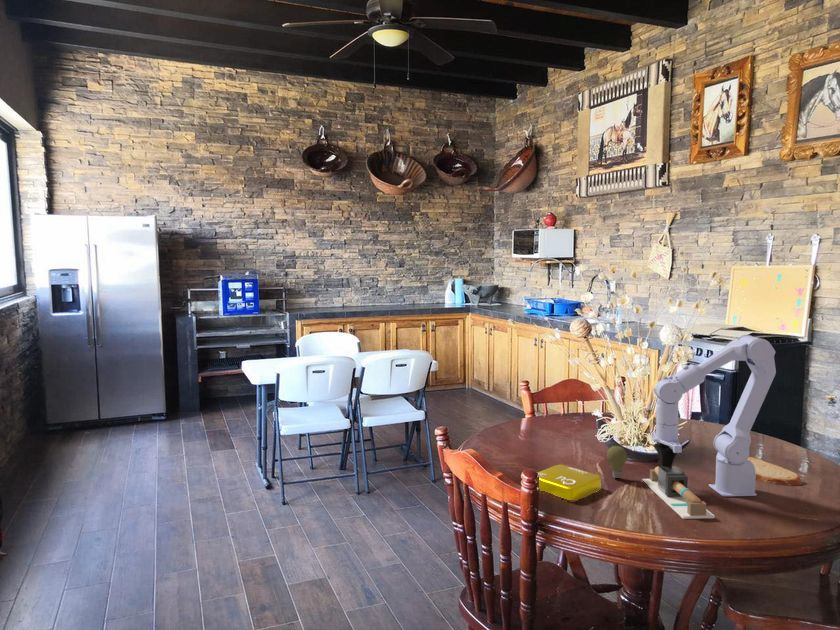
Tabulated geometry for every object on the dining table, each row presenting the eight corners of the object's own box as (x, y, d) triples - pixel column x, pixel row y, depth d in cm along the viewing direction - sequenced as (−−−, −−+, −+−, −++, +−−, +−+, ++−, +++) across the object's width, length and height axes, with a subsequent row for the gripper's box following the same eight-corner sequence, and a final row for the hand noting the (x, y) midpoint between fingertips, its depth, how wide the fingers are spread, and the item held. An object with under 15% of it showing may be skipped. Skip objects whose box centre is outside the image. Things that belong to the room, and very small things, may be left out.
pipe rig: (642, 480, 173) (642, 464, 173) (669, 480, 173) (669, 464, 173) (683, 518, 147) (683, 499, 147) (714, 518, 147) (715, 499, 147)
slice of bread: (806, 487, 167) (806, 475, 167) (737, 483, 171) (738, 471, 171) (781, 466, 185) (782, 455, 185) (719, 463, 189) (720, 451, 188)
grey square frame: (665, 494, 161) (665, 475, 160) (684, 493, 161) (685, 474, 160) (667, 496, 159) (667, 476, 159) (687, 495, 159) (687, 476, 159)
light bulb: (602, 476, 177) (603, 444, 176) (617, 474, 179) (618, 442, 178) (615, 483, 171) (615, 449, 171) (630, 480, 173) (631, 447, 173)
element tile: (603, 490, 167) (603, 474, 167) (573, 505, 157) (573, 488, 157) (559, 476, 178) (559, 461, 178) (528, 489, 169) (528, 473, 168)
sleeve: (657, 487, 166) (658, 466, 165) (676, 486, 166) (676, 466, 165) (665, 493, 161) (666, 472, 160) (684, 493, 161) (685, 472, 160)
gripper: (642, 416, 172) (642, 461, 173) (663, 430, 158) (662, 479, 159) (666, 416, 172) (665, 461, 173) (689, 429, 158) (688, 478, 159)
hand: (665, 469), depth 166 cm, fingers closed
